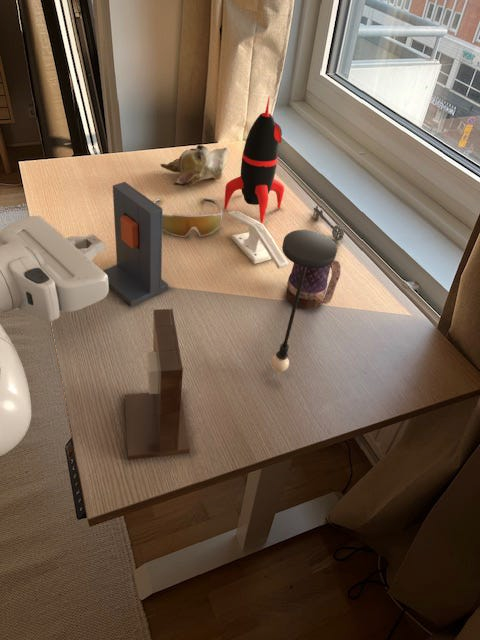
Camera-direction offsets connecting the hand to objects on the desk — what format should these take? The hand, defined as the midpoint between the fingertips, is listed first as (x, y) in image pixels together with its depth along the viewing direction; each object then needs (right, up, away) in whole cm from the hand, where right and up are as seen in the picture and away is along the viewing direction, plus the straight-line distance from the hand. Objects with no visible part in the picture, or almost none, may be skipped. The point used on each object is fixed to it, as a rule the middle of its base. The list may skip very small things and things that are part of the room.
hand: (99, 242), depth 82 cm
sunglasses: (+11, +9, +28) cm, 32 cm away
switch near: (+11, -20, -17) cm, 29 cm away
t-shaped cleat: (+24, +2, +23) cm, 34 cm away
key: (+41, +7, +32) cm, 52 cm away
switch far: (+4, +1, +4) cm, 6 cm away
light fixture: (+28, -21, -2) cm, 35 cm away
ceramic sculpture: (+12, +21, +41) cm, 47 cm away
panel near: (+11, -27, -11) cm, 31 cm away
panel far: (+3, -6, +11) cm, 12 cm away
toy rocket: (+25, +12, +34) cm, 44 cm away
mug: (+35, -9, +12) cm, 38 cm away
